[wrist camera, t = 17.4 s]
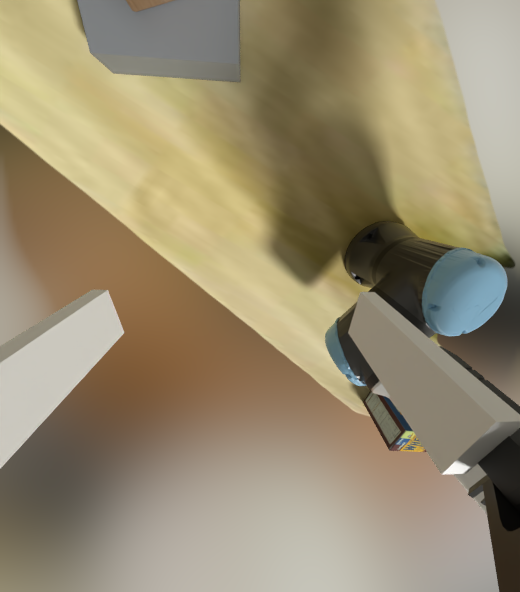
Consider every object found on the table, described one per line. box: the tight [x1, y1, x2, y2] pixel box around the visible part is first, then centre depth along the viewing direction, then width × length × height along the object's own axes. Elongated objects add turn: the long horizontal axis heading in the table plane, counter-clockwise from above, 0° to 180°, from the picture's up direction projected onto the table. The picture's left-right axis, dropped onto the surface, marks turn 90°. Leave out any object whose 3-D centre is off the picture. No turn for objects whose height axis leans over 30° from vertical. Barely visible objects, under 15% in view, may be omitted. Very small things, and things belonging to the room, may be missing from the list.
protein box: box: [364, 391, 427, 452], centre depth 65 cm, size 10×15×16 cm
